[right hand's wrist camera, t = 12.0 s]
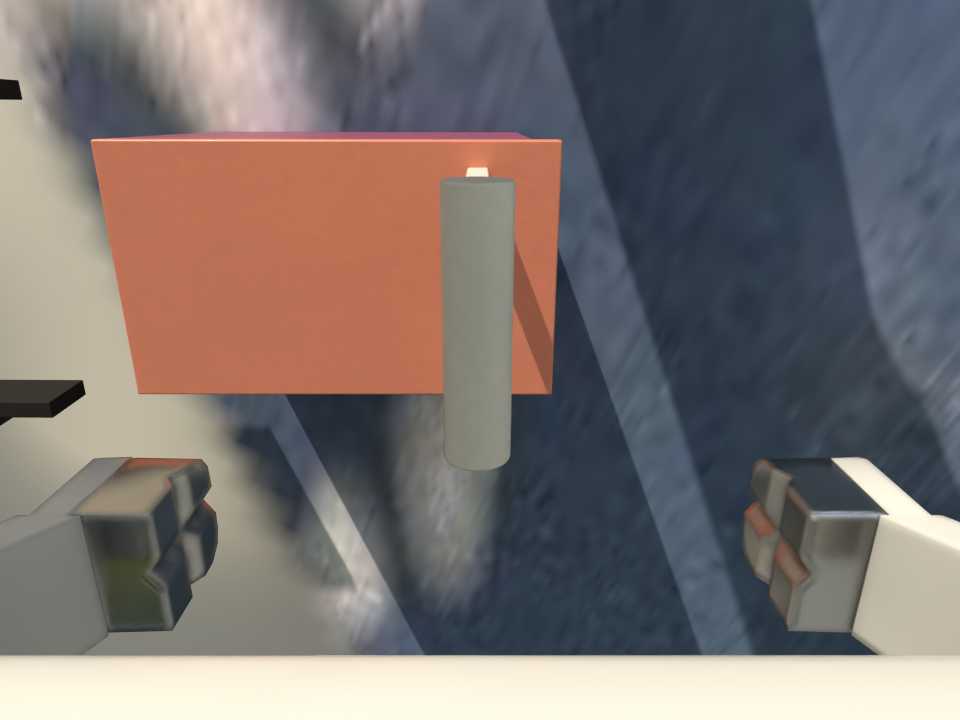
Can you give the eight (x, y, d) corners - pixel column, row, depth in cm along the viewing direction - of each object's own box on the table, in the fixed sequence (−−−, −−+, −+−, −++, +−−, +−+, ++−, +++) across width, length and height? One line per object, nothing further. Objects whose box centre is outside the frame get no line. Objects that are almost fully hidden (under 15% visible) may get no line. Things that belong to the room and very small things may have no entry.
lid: (559, 139, 23) (599, 150, 16) (549, 384, 26) (578, 495, 19) (105, 138, 23) (-79, 149, 16) (150, 384, 26) (15, 494, 19)
